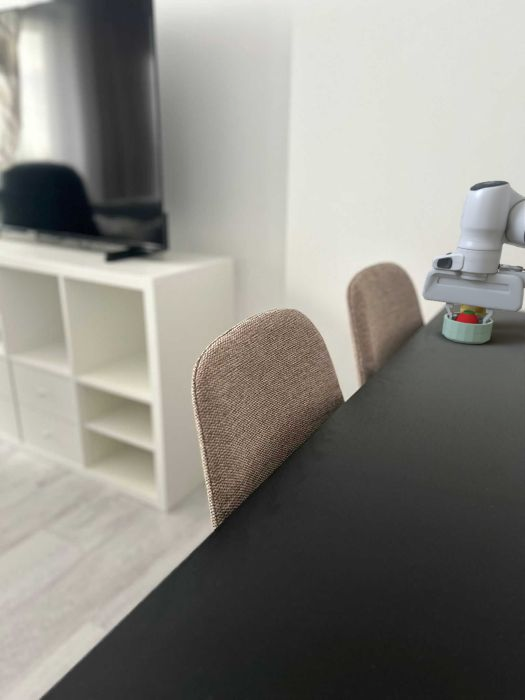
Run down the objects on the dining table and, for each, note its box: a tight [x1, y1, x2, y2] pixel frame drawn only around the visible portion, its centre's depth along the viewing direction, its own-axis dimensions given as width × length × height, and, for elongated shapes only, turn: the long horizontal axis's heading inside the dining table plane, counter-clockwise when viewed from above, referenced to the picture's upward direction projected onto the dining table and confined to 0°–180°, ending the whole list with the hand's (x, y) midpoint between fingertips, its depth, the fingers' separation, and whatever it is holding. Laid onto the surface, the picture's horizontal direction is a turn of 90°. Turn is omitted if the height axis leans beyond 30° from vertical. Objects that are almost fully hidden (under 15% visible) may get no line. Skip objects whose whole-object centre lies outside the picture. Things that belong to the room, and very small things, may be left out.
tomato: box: [456, 310, 479, 324], centre depth 112 cm, size 5×5×5 cm
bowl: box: [441, 311, 494, 345], centre depth 113 cm, size 10×10×4 cm
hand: (466, 324), depth 112 cm, fingers closed on tomato, 5 cm apart
